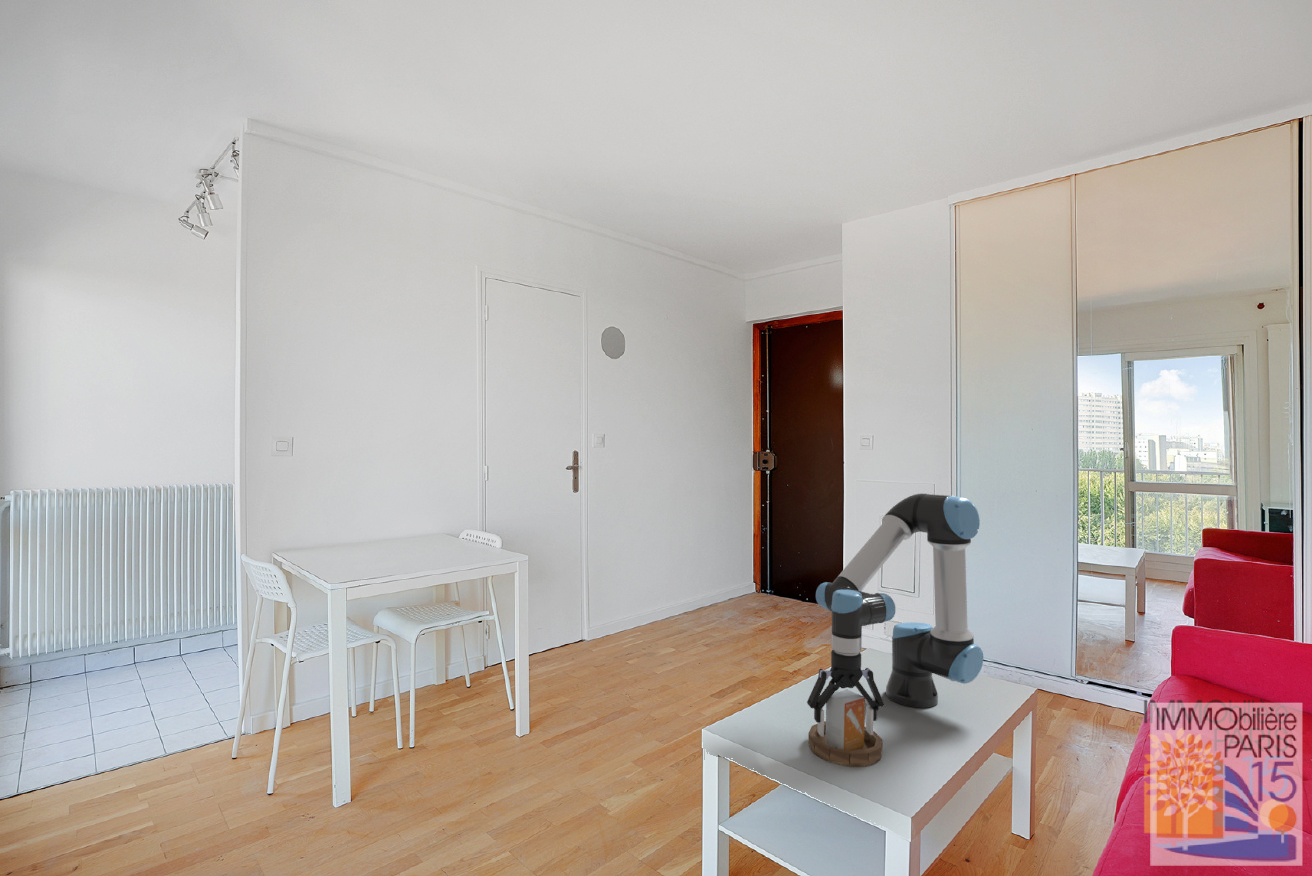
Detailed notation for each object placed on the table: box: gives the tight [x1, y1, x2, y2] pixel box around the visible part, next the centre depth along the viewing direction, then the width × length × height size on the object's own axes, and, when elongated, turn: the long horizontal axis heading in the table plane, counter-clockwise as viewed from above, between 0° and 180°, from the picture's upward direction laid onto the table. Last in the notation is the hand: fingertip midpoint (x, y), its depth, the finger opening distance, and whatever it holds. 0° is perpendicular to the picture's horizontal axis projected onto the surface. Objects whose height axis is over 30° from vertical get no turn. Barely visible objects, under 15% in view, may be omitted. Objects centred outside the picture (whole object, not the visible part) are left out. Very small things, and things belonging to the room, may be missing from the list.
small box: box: [825, 688, 866, 751], centre depth 164 cm, size 8×6×13 cm
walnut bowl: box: [807, 720, 884, 768], centre depth 164 cm, size 18×18×3 cm
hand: (845, 733), depth 164 cm, fingers open, 12 cm apart
